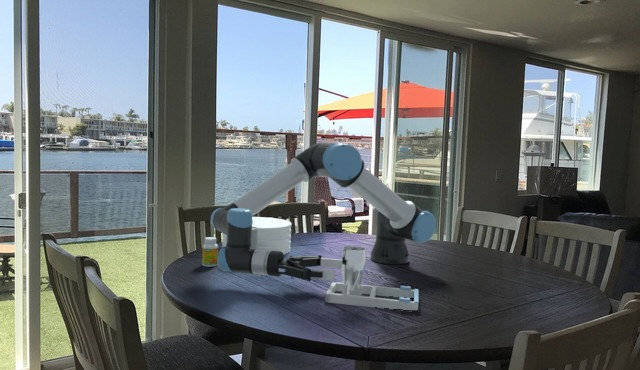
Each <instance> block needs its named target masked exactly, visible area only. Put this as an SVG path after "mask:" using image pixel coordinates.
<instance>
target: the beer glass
mask: <svg viewBox="0 0 640 370" xmlns="http://www.w3.org/2000/svg"><path fill="white" fill-rule="evenodd" d="M366 257H367V256H366V247H363V246H359V245H345V246H343V247H342V255H341V260H342V269H341V273H342V283H343V291H342V292H341V294H346V295H356V296H363V294H362V293H361V285H363V280H364V275H365V271H366V259H367V258H366Z"/></svg>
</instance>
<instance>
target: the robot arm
mask: <svg viewBox="0 0 640 370" xmlns="http://www.w3.org/2000/svg"><path fill="white" fill-rule="evenodd" d="M365 164H366V163H365V161H364V160H363V159H362V155H361V153H360V152H359V150H358V149H357V148H356V147H355V146H353V145H352V144H349V143H345V142H325V141H324V142H323V141H322V142H317V143H314V144H313V145H311V146H309V147H307V148H306V149H305V150H303V151H301V152H300V153H299V154H297V155H295V156H294V157H293V158H292V159H290V163H289V164H288V165H286V166H285V167H283V168H282V169H280V170H278V171H277V172H276V173H275V174H272V175H271V176H270V177H267V179H266V180H264V181H263V182H261V183H260V184H258V185H257V186H255V187H254V188H252V189H250V190H249V191H247V192H246V193H245V194H244V195H242V196H241V197H239V198H237V199H236V200H235V201H233V202H231V203H230V204H229V205H227V206H225V207H219V208H216V209H215V210H213V212H212V213H211V215H210V223H211V224H210V225H212V226H213V228H214V229H215V230H216V231H218V233H222V234H223V233H224V234H226V235H227V244H226V246H225V247H222V246H221V248H220V249H219V250H218V259H217V262H218V264H217V267H218V268H219V269H220V270H221V271H223V272H224V271H225V272H231V273H232V274H233V273H237V274H251V275H257V276H258V277H261V275H262V276H267V275H268V276H270V277H281V276H282V275H285V276H288V277H293V278H295V279H299V280H304V281H307V282H311V281H312V279H314V280H315V279H316V280H326V281H327V280H328V281H335V280H336V279H335V277H336V270H334V269H338V270H342V259H339V258H336V259H335V258H325V257H322V256H323V255H322V254H318V255H302V256H300V255H298V256H297V255H296V256H295V255H290V256H289V257H288V258H285V254H283V252H280V251H271V252H270V251H269V250H259V249H251V238H252V223H253V220H252V217H255V215H256V214H258V213H259V212H261V211H263V210H264V209H265V208H266V207H268V206H269V205H271V204H272V203H274V202H275V201H276V200H278V199H279V198H281V197H283V196H284V195H285V194H287V193H288V192H289V191H291V190H293V189H294V188H295V187H297V186H298V185H300V184H301V183H302V182H305V183H308V182H309V181H310V180H312V179H314V178H316V177H326V178H329V179H331V180H332V181H333V182H334V183H336V185H338V186H340V187H341V188H344V189H346V188H349V189H351V190H352V191H353V192H354V193H355V194H357V195H358V196H359V197H360V198H362V199H363V200H365V202H366V203H368V204H370V205H371V206H372V207H373V208H374V209H376V210H377V211H376V216H377V217H376V232H375V233H376V234H375V235H376V236H375V242H374V244H373V246H372V249H371V251H370V260H371V261H373V262H376V263H379V264H384V265H386V264H387V265H404V264H409V262H410V254H409V251H408V247H407V243H406V240H409V241H413V242H415V243H421V244H422V243H426V242H428V241H430V239H431V238H432V237H433V236H434V234H435V232H436V228H437V225H436V223H437V220H436V218H435V215H434V214H433V213H431V212H430V211H429V210H423V209H421V208H420V207H419V206H418V205H417V204H415V203H414V202H412V201H410V200H404V199H403V198H401V197H400V196H399V195H398V194H397V193H396V192H394V191H393V190H392V189H391V188H390V187H389V186H387V185H386V184H384V182H382V181H381V180H380V179H379V178H378V177H376V176H375V175H374V174H373V173H372V172H371V171H369V170H368V169H367V168H365V167H366V165H365ZM310 267H313V268H310ZM314 267H315V268H314ZM316 267H320V268H316ZM323 268H327V269H323ZM328 268H329V269H328Z"/></svg>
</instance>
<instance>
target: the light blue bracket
mask: <svg viewBox="0 0 640 370" xmlns="http://www.w3.org/2000/svg"><path fill="white" fill-rule="evenodd" d="M411 287H412V286H409V285H407V286H406V285H400V290H408V291H411V290H412V288H411ZM413 290H414V299H413V301H414V303H418V305H419V303H420V302H419V300H420V299H419V289H418V288H414V289H413ZM398 300H399V302H409V303H410V301H411V299H410V298H404V297H399V298H398Z"/></svg>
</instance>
